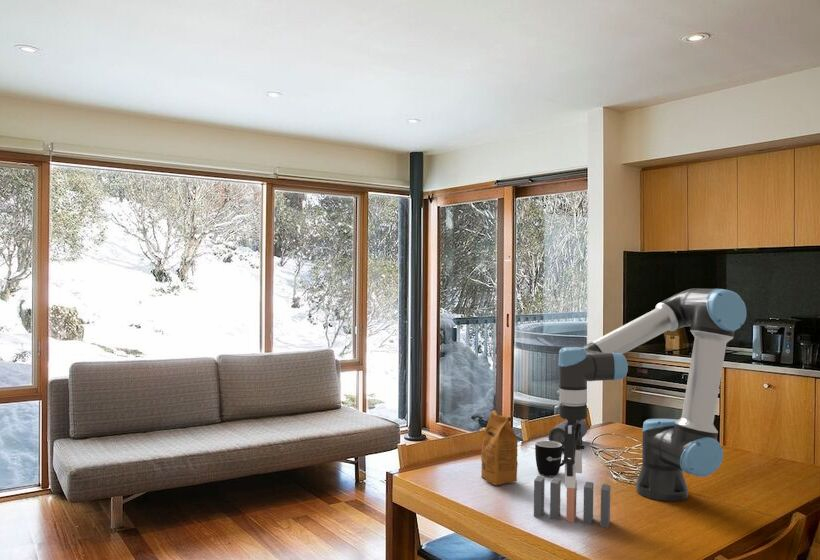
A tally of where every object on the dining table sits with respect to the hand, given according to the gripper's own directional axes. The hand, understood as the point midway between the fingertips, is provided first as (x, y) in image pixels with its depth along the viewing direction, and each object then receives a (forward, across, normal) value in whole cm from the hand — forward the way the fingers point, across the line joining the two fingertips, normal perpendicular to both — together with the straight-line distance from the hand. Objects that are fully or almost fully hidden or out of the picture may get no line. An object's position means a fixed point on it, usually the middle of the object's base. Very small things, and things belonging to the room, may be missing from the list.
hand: (573, 479), depth 179 cm
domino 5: (+11, 0, +8) cm, 14 cm away
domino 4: (+11, 0, +4) cm, 11 cm away
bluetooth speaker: (+12, -78, -13) cm, 80 cm away
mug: (+11, -40, -13) cm, 43 cm away
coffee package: (+11, -24, -28) cm, 38 cm away
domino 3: (+11, 0, -1) cm, 11 cm away
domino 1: (+10, 0, -10) cm, 14 cm away
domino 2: (+11, 0, -5) cm, 12 cm away
